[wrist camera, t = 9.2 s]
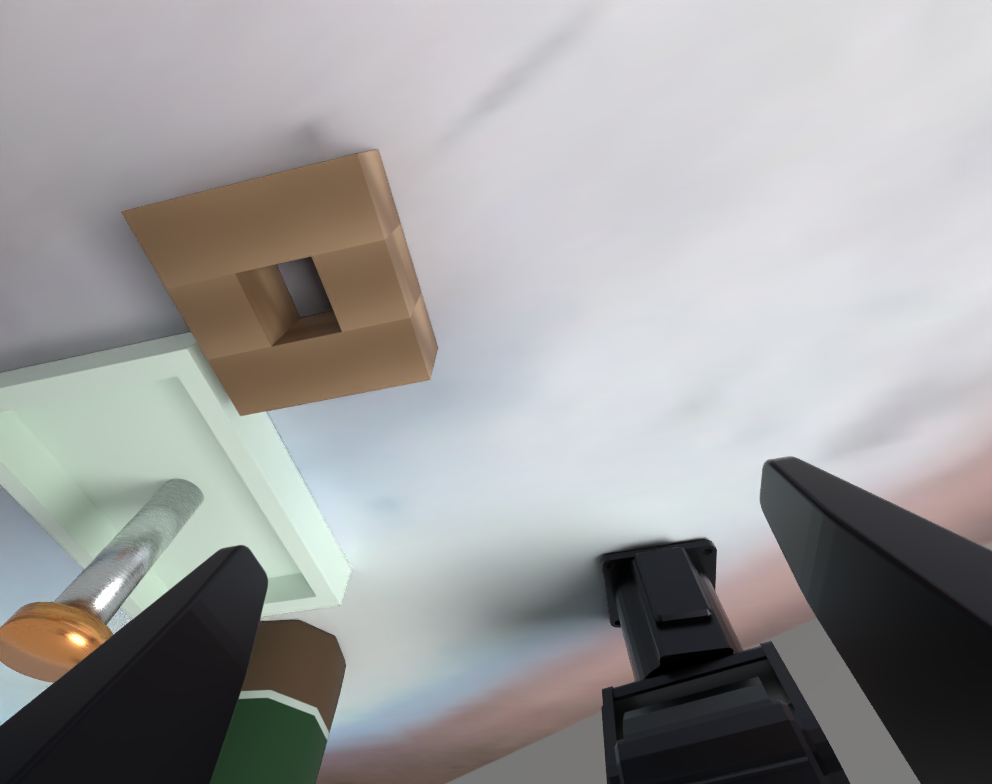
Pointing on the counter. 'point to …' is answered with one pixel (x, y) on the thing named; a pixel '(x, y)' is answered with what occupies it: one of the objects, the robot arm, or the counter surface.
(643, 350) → the counter surface
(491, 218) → the counter surface
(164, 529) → the pin
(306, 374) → the block
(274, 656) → the beer bottle
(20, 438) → the tray
